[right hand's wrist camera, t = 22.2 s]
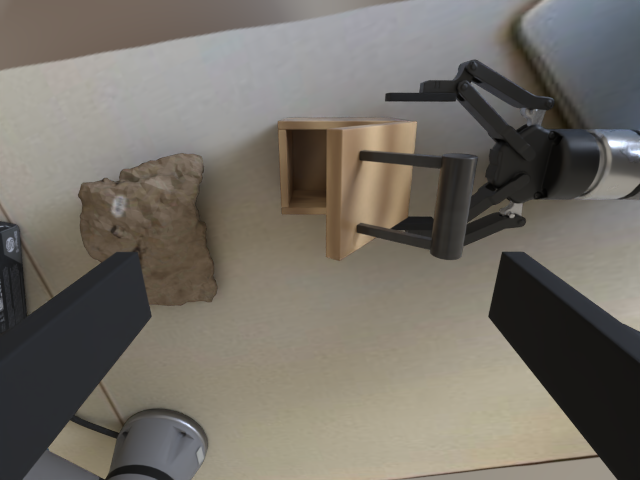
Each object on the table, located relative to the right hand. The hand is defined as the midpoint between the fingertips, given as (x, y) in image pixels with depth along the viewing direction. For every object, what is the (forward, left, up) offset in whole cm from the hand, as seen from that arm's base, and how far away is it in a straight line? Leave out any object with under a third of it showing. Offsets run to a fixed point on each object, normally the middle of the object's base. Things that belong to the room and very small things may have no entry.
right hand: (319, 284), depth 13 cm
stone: (-21, -10, -33) cm, 40 cm away
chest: (+2, 0, -33) cm, 33 cm away
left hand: (+7, 0, -27) cm, 28 cm away
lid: (+4, 0, -18) cm, 19 cm away
